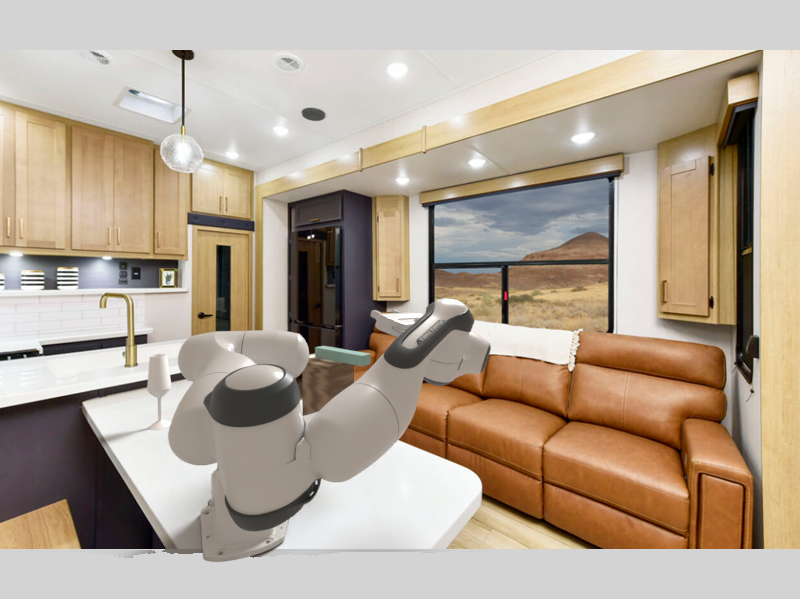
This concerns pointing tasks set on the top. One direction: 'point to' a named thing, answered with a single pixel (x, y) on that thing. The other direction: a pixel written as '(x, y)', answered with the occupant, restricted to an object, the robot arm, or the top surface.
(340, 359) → the bar
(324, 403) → the stand
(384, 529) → the top surface
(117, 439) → the top surface
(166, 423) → the champagne flute
